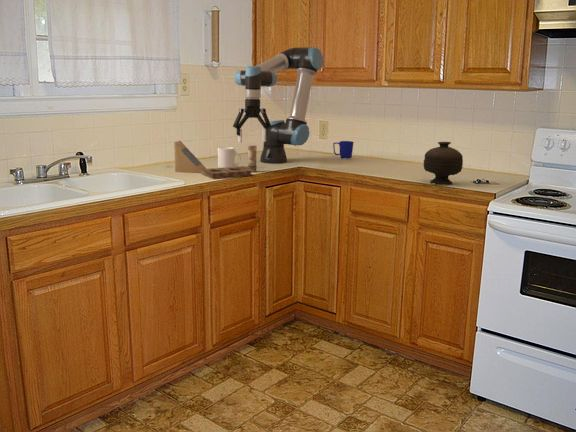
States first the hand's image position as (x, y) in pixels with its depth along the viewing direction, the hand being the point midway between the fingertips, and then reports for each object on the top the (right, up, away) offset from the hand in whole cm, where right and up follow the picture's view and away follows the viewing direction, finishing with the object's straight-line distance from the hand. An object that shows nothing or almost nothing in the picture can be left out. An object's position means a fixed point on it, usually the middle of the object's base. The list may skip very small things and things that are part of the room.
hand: (252, 141), depth 287 cm
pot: (+90, -22, -16) cm, 94 cm away
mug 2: (+51, -2, +60) cm, 78 cm away
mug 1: (-12, -13, +11) cm, 21 cm away
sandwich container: (-30, -15, 0) cm, 34 cm away
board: (-12, -17, -8) cm, 22 cm away
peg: (0, -15, +4) cm, 15 cm away
